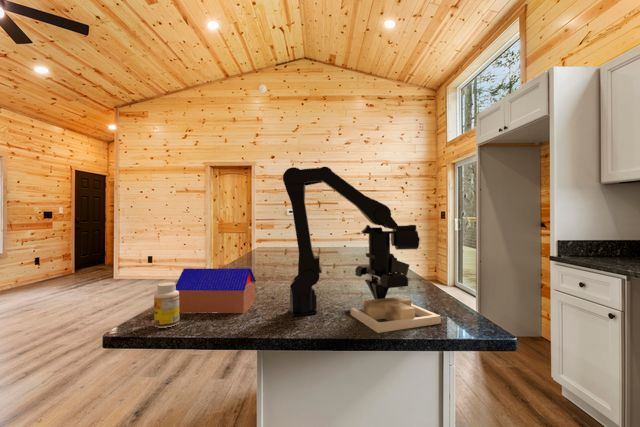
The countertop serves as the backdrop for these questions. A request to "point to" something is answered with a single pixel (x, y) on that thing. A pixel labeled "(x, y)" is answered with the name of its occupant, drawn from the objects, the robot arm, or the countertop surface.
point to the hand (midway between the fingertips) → (380, 306)
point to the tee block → (389, 308)
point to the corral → (424, 320)
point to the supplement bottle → (166, 305)
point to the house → (216, 290)
